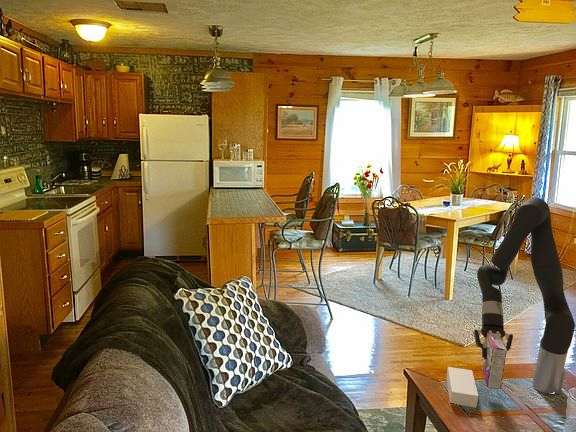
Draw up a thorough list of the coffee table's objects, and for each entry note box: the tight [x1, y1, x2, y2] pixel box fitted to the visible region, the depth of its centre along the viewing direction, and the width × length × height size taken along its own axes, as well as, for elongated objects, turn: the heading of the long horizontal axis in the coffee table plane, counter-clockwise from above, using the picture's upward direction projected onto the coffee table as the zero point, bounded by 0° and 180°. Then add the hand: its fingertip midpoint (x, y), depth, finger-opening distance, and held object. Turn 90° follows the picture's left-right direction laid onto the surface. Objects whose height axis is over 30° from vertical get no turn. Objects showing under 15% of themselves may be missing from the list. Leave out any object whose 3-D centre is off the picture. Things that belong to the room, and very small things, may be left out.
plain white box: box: [445, 366, 479, 409], centre depth 177 cm, size 9×16×5 cm, turn 167°
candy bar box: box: [481, 333, 508, 390], centre depth 171 cm, size 11×5×16 cm, turn 168°
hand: (493, 360), depth 171 cm, fingers closed on candy bar box, 5 cm apart
